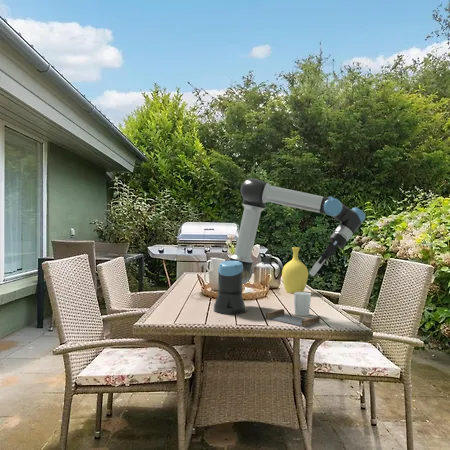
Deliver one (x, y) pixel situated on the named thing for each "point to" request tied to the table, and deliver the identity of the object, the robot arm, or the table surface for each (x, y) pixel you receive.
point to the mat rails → (304, 322)
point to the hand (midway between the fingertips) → (312, 272)
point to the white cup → (302, 303)
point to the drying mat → (290, 320)
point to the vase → (295, 274)
